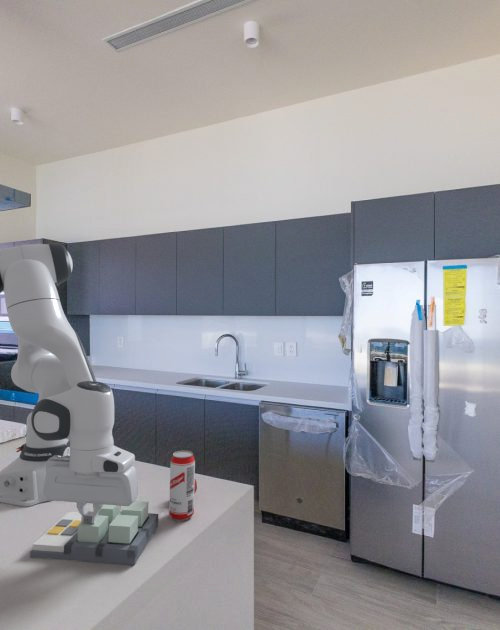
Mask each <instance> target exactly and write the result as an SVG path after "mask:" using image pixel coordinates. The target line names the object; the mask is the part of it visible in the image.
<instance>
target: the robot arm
mask: <svg viewBox="0 0 500 630" xmlns="http://www.w3.org/2000/svg"><path fill="white" fill-rule="evenodd" d="M73 266H74V265H73V259H72V255H71V254H70V253H69V251H68V250H67V247H66V246H64V245H63V244H62V243H61V244H60V243H56V242H48V243H34V244H32V243H29V244H27V243H26V244H20V245H16V246H15V245H14V246H10V247H4V248H0V294H1V293H2V292H3V294H4V301H5V302H4V303H5V307H6V311H7V316H8V321H9V325H10V328H11V329H12V331H13V333H14V335H15V336H16V337H17V359H16V362H15V363H14V364H13V366H12V368H11V371H10V377H11V380H12V382H13V384H14V385H15V386H17V387H18V388H20V389H22V390H24V391H26V392H29V393H36V394H38V398H37V403H36V404H35V405H34V407H33V409H32V411H31V412H30V413H29V414H28V415H27V417H26V433H25V443H23V444H21V446H19V447H17V448H16V451H15V452H16V453H18V452H20V454H19V457H17V458H15V460H14V461H12V462H10V463H9V464H8V465H7V466H5V467H3V469H2V470H1V471H0V503H4V504H9V505H14V506H20V507H30V506H33V505H37V504H40V503H44V502H49V501H50V502H51V501H53V502H64V503H65V502H67V503H76V509H77V510H78V513H80V514H81V522H82V523H94V524H95V523H96V522H97V520H98V512H99V511H100V509H101V508H102V506H103V504H104V505H117V506H121V507H125V506H130V505H131V504H132V503H133V502H134V501H137V498H138V495H139V478H138V477H139V476H138V472H137V469H136V467H135V466H133V464H134V463H135V461H136V456H135V454H134V453H132V452H130V451H128V450H125V449H123V448H121V447H118V446H116V445H115V444H114V443H115V441H114V436H113V428H114V425H115V398H114V394H113V393H114V392H113V390H112V388H111V387H110V386H109V385H108V384H106V383H104V382H101V381H97V380H96V376H95V373H94V371H93V369H92V365H91V363H90V361H89V358H88V356H87V352H86V350H85V347H84V345H83V343H82V341H81V338H80V337H79V335H78V333H77V331H76V330H75V329H74V328H73V327H72V326H71V323H70V322H69V321H68V318H67V317H66V315H65V313H64V310H63V306H62V303H61V300H60V296H59V292H58V289H57V287H60V285H61V284H63V283H65V282H67V281H68V280H69V279H70V278H71V276H72V272H73V268H74V267H73ZM87 504H90V505H91V504H92V508H96V509H95V510H94V512H93V511H90V510H89V509H88V506H87Z"/></svg>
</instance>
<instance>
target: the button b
mask: <svg viewBox="0 0 500 630" xmlns="http://www.w3.org/2000/svg"><path fill="white" fill-rule="evenodd" d="M121 507H122V506H117V505H104V504H103V506H102V508H101V509H100V511H99V512H98V515H101V516H108V524H110V523H111V522H112V521H113V520H114V519H115V518H116V516H117V515H121V512H122V510H121V509H122V508H121ZM92 508H93V507H92ZM95 509H96V508H93V509H92V510H93V511H92V512H94V510H95Z"/></svg>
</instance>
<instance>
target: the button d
mask: <svg viewBox="0 0 500 630" xmlns="http://www.w3.org/2000/svg"><path fill="white" fill-rule="evenodd" d="M121 509H122V510H121V512H122V515H132V516H138V526H142V525H143V523H144V522H145V520H146V519H147V517H148V513H149V501H143V500H135V501H134V502H133V503H132V504H131V505H130V506H123V508H121Z"/></svg>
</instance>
